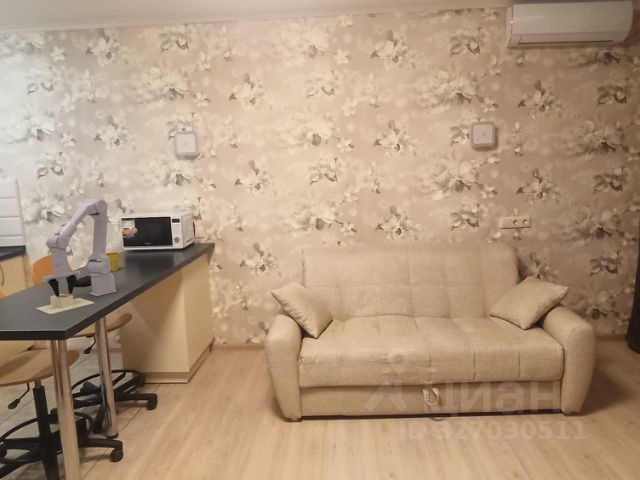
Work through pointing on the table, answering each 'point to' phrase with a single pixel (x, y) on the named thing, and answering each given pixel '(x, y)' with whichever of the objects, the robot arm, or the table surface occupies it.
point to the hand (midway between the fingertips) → (64, 294)
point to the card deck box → (62, 300)
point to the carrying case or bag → (83, 282)
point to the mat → (77, 303)
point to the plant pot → (114, 260)
